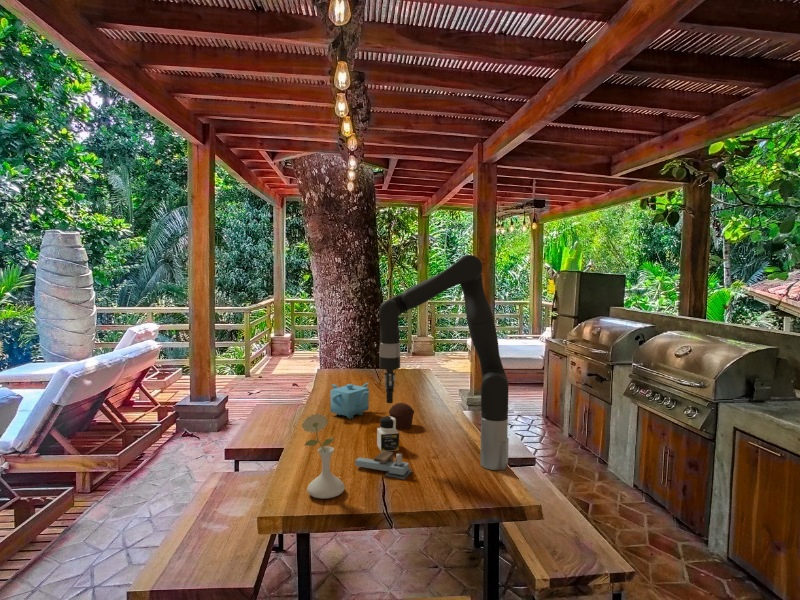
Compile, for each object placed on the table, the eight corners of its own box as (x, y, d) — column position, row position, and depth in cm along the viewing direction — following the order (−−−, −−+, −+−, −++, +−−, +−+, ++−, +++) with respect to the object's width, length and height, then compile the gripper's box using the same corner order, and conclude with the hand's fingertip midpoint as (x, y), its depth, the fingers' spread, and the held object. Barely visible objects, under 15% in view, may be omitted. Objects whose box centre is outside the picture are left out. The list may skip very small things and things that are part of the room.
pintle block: (412, 471, 158) (412, 452, 158) (404, 480, 152) (404, 459, 151) (393, 468, 161) (393, 449, 161) (385, 476, 155) (385, 456, 154)
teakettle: (330, 421, 212) (330, 389, 211) (330, 409, 231) (330, 380, 230) (371, 419, 215) (371, 388, 214) (368, 408, 233) (368, 379, 233)
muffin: (384, 424, 208) (384, 402, 208) (406, 420, 214) (406, 399, 213) (396, 432, 198) (396, 409, 197) (418, 428, 203) (419, 405, 202)
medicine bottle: (381, 452, 175) (381, 421, 175) (376, 445, 182) (377, 415, 182) (399, 450, 177) (399, 419, 177) (394, 444, 184) (394, 414, 184)
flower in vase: (346, 484, 148) (346, 407, 147) (343, 502, 137) (342, 419, 135) (305, 485, 148) (304, 408, 146) (298, 502, 136) (298, 419, 135)
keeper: (393, 467, 162) (393, 452, 162) (384, 475, 155) (384, 460, 155) (382, 465, 164) (382, 450, 163) (374, 473, 157) (374, 458, 157)
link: (408, 469, 158) (408, 462, 158) (403, 475, 153) (403, 468, 153) (360, 461, 164) (360, 455, 164) (353, 467, 159) (353, 460, 159)
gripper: (401, 358, 160) (401, 407, 161) (399, 352, 173) (398, 397, 174) (379, 358, 160) (379, 408, 161) (379, 352, 173) (378, 397, 174)
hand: (389, 402), depth 168 cm, fingers closed
